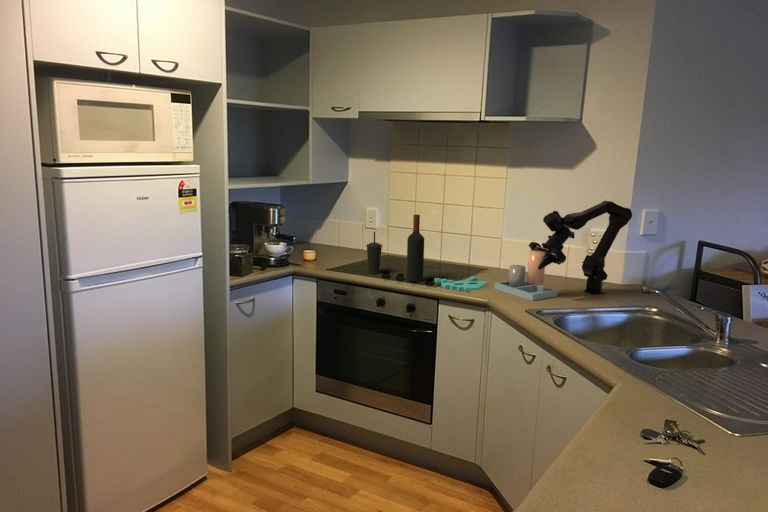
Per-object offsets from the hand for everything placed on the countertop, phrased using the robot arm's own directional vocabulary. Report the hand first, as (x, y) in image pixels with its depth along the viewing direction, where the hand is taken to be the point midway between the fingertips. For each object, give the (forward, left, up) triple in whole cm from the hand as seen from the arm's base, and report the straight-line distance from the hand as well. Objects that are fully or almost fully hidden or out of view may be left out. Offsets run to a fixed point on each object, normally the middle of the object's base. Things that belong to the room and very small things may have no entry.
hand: (533, 267), depth 242 cm
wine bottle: (+26, -47, -13) cm, 55 cm away
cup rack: (-1, -5, -13) cm, 14 cm away
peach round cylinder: (-1, 0, -7) cm, 7 cm away
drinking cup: (+35, -68, -13) cm, 77 cm away
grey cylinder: (-1, -10, -12) cm, 16 cm away
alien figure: (+13, -28, -14) cm, 34 cm away
